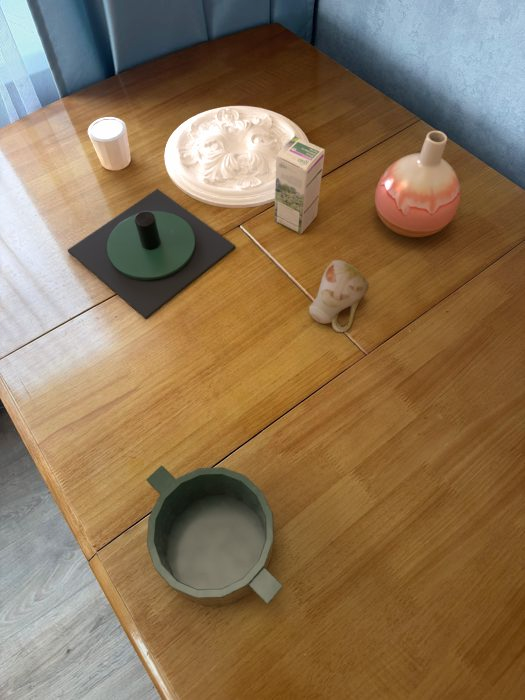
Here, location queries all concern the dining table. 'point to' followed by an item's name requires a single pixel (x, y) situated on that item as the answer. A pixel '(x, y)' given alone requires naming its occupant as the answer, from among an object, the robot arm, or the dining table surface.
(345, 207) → the dining table surface
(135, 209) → the mat
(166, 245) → the lid
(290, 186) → the syrup box
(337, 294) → the mug
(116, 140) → the white lidded cup
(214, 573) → the pot
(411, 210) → the vase
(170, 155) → the ceiling medallion
